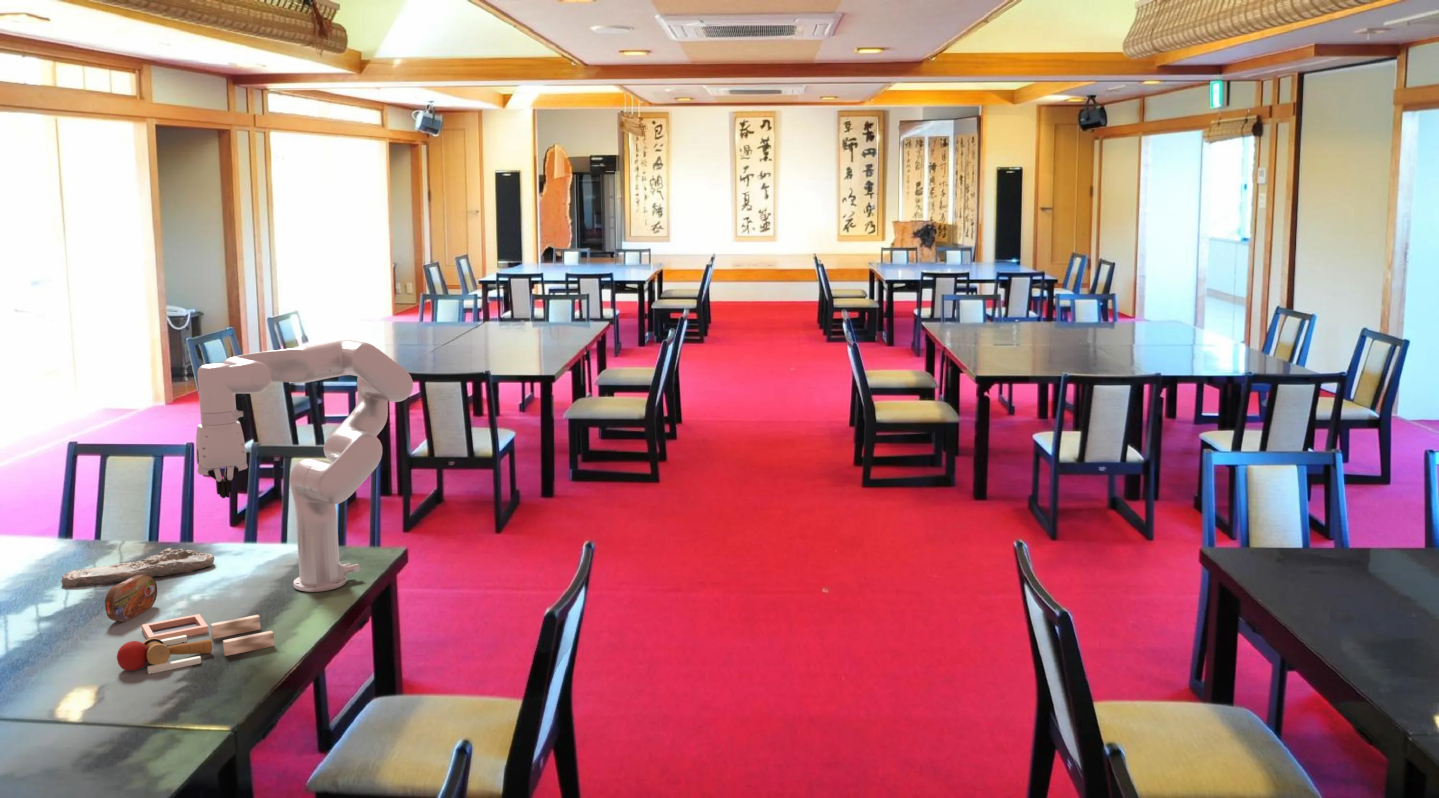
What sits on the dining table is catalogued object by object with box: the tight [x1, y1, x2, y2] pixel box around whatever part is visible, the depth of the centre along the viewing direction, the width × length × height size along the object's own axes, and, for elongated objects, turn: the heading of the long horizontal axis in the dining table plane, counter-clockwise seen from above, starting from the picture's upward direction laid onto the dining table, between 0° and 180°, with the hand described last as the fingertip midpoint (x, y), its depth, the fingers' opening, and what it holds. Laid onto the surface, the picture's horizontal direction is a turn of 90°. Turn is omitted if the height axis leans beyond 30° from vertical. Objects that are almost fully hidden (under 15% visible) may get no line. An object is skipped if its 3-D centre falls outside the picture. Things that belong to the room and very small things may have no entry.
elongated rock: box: [60, 546, 215, 589], centre depth 304 cm, size 35×5×10 cm
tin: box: [104, 575, 158, 623], centre depth 276 cm, size 15×3×8 cm, turn 168°
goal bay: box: [146, 635, 202, 675], centre depth 253 cm, size 10×15×1 cm, turn 34°
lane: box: [210, 614, 275, 657], centre depth 261 cm, size 10×13×3 cm
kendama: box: [116, 638, 213, 672], centre depth 250 cm, size 8×6×18 cm
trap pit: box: [141, 613, 209, 640], centre depth 266 cm, size 12×9×2 cm
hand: (224, 496), depth 276 cm, fingers closed
